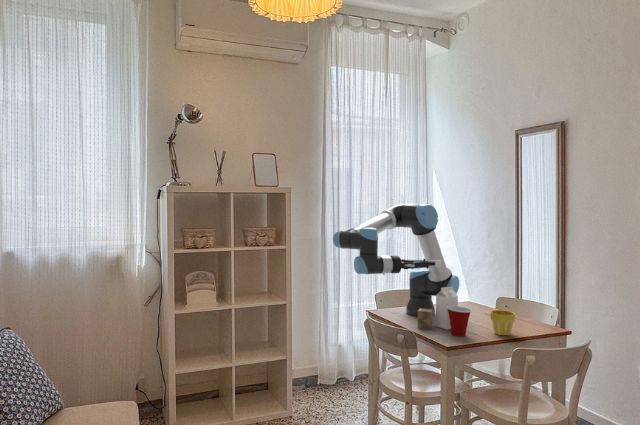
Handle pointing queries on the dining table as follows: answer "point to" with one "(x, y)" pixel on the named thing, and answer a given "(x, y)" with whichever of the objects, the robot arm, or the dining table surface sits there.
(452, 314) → the plastic cup
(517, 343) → the dining table surface
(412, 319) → the dining table surface
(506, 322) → the plant pot
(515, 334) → the dining table surface
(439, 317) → the milk carton
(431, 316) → the walnut block
